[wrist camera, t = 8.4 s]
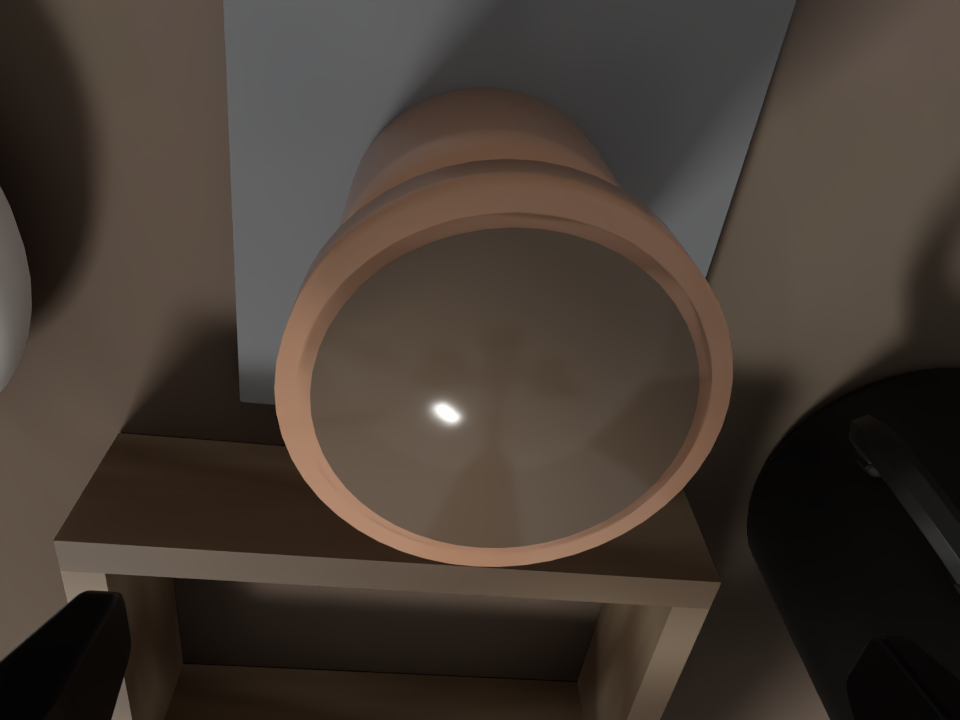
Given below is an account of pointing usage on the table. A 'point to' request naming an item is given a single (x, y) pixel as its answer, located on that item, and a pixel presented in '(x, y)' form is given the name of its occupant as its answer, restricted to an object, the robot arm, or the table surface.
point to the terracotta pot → (499, 343)
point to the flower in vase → (12, 294)
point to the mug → (866, 527)
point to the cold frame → (366, 565)
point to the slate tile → (475, 64)
